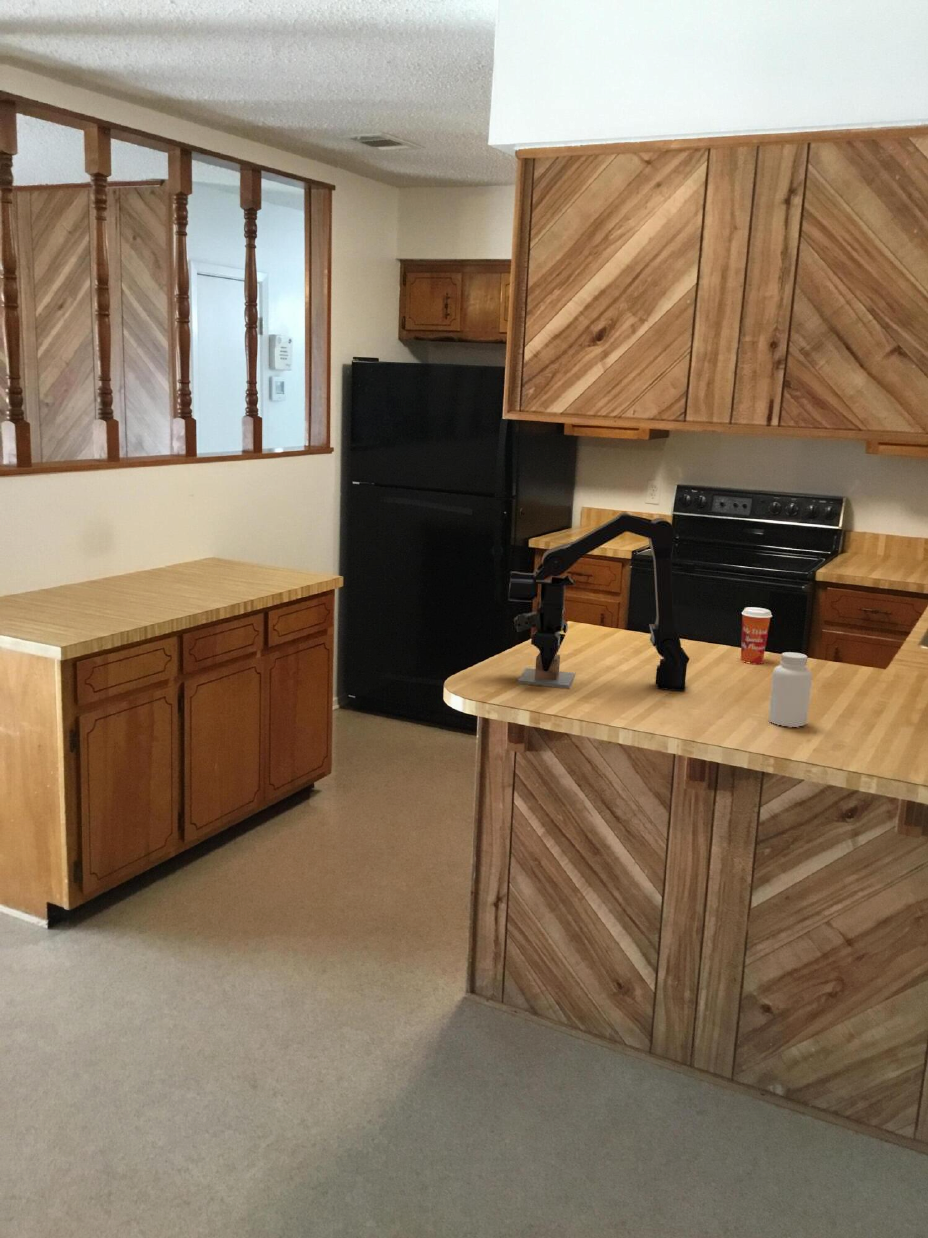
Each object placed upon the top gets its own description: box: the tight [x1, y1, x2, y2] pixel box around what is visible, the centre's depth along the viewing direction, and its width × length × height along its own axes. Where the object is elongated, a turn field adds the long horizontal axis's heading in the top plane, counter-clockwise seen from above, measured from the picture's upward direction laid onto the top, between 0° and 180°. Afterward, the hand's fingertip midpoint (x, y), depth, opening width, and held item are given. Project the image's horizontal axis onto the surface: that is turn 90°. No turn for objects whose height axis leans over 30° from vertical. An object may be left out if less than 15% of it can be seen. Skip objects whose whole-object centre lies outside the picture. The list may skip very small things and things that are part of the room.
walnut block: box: [534, 652, 561, 680], centre depth 254 cm, size 5×5×5 cm
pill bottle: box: [768, 651, 813, 728], centre depth 228 cm, size 8×8×15 cm
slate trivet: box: [517, 667, 576, 690], centre depth 255 cm, size 12×12×1 cm
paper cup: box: [740, 606, 773, 663], centre depth 282 cm, size 8×8×14 cm
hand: (547, 667), depth 254 cm, fingers open, 7 cm apart
